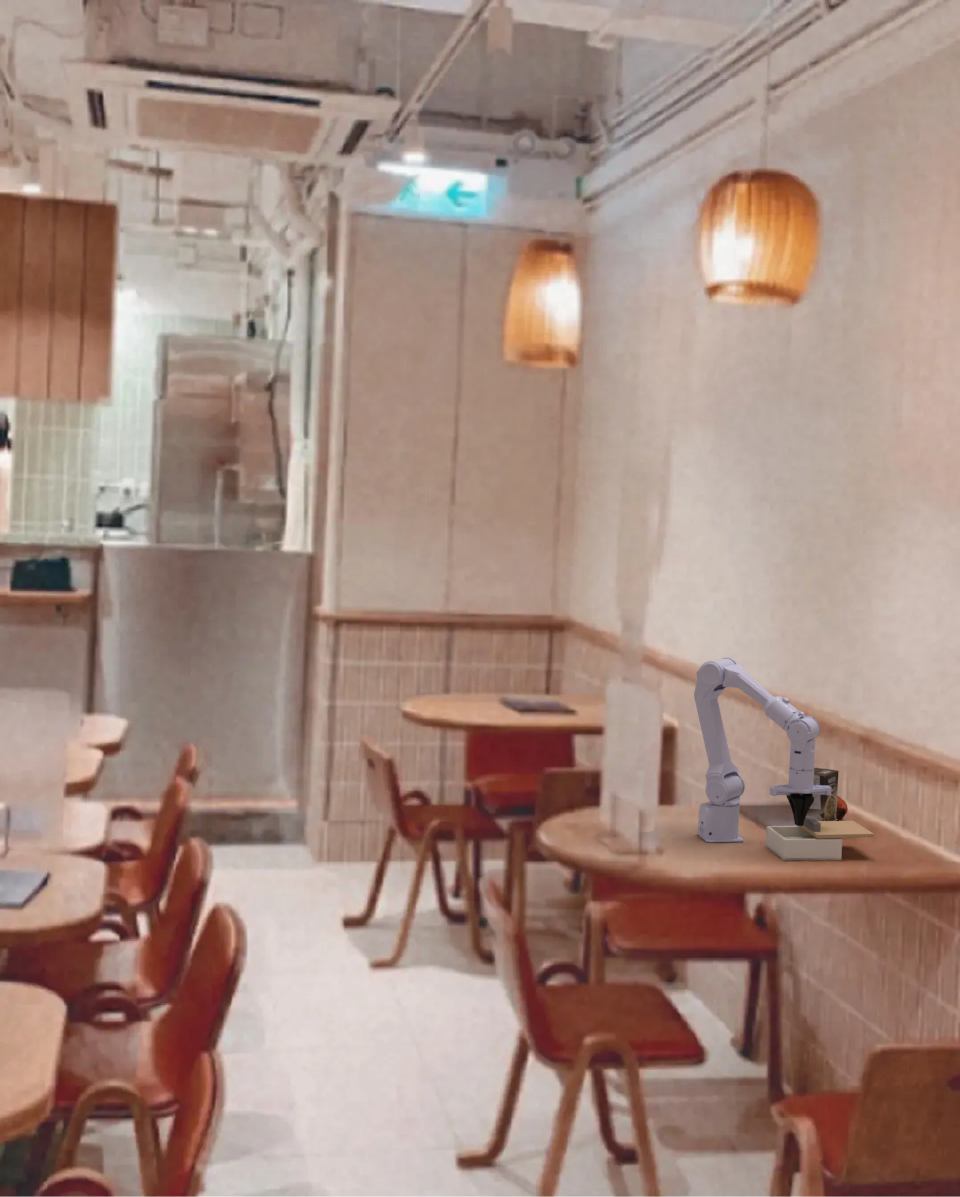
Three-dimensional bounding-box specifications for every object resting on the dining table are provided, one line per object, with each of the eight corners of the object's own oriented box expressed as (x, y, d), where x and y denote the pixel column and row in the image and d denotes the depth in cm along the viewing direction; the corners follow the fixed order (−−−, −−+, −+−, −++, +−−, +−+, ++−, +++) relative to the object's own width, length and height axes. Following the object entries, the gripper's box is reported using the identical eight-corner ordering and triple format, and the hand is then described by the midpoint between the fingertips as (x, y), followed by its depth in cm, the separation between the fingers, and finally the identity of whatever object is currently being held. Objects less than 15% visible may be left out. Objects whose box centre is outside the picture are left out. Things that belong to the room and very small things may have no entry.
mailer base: (783, 860, 318) (784, 839, 317) (765, 846, 330) (766, 826, 329) (841, 859, 320) (842, 838, 319) (821, 845, 332) (822, 825, 331)
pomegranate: (849, 833, 353) (844, 802, 360) (850, 815, 348) (845, 784, 355) (820, 834, 354) (815, 803, 361) (820, 816, 349) (816, 786, 356)
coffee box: (821, 840, 336) (824, 776, 335) (797, 835, 340) (800, 772, 339) (836, 833, 344) (839, 770, 342) (812, 828, 347) (815, 766, 346)
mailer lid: (816, 838, 318) (817, 826, 318) (797, 824, 330) (798, 813, 330) (874, 837, 320) (874, 825, 320) (852, 823, 332) (853, 812, 332)
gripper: (778, 772, 317) (775, 829, 319) (837, 771, 320) (834, 828, 321) (767, 765, 324) (764, 821, 326) (825, 765, 327) (822, 821, 328)
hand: (798, 824), depth 324 cm, fingers closed
